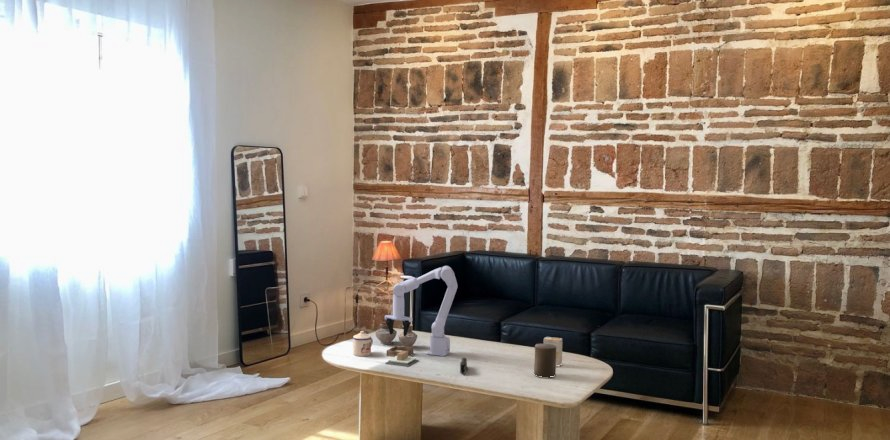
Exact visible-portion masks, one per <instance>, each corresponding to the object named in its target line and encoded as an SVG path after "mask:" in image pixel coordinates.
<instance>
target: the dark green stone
mask: <svg viewBox="0 0 890 440" xmlns="http://www.w3.org/2000/svg"><path fill="white" fill-rule="evenodd" d="M459 364H460V365H459V372H460V374H463V376H465V375H466V372H467V369H468V359H467V357H462V358H461V361H460V362H459Z"/></svg>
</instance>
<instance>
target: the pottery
mask: <svg viewBox="0 0 890 440" xmlns="http://www.w3.org/2000/svg"><path fill="white" fill-rule="evenodd" d="M413 326H414V325H413V324H412V323H411V324H410V326H409V328H408V332H407V335H406V336H404V331H402V332H401V333H399V334H398V340H399V342H400V345H402V346H401V347H409V348H413V349H414V345H415V344H416V341H417V338H418V334H417V333H415V331H414V332H413ZM379 327H380V328H378V329H377V330H375V332H374V333H375V337H376V338H377V339H378V341H379V342H380V345H383V346H384V345H385V346H386V345H387V346H388V345H392V343H393V341H394V339H396V336H397V330H396V329H395V328H393V334H390V332H389V328H388V326H387V324H386V321H384V322H381V323H379Z"/></svg>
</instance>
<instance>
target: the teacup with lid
mask: <svg viewBox="0 0 890 440" xmlns="http://www.w3.org/2000/svg"><path fill="white" fill-rule="evenodd" d="M352 340H353V344H352V345H353V349H352V351H353V352H352V354H353V355H354V356H355V357H368V356H370V355H371V354H372V346H373V343H374V340H373V338H372V336H371V335H370V334H367V333H366V332H365V331H364V330H360V332H359V333H357V334H354V335H353V336H352Z"/></svg>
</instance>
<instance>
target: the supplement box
mask: <svg viewBox="0 0 890 440" xmlns="http://www.w3.org/2000/svg"><path fill="white" fill-rule="evenodd" d="M545 343H546V344H553V345H555V346H556V365H560V364H561V363H562V364H563V338H562V337H552V336H546V337H544V338H543V344H545Z"/></svg>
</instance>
